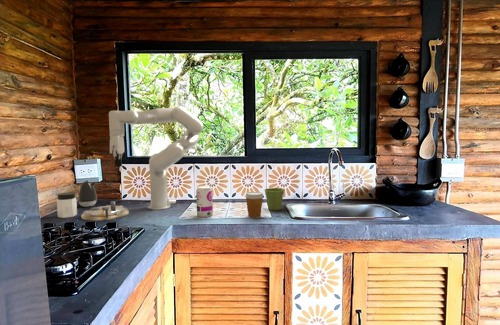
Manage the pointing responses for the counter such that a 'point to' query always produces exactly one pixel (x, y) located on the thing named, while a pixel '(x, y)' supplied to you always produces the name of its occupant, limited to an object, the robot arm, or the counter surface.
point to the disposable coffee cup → (254, 203)
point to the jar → (66, 205)
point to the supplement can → (204, 201)
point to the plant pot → (274, 198)
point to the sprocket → (101, 210)
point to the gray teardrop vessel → (87, 194)
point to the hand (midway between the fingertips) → (118, 166)
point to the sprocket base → (93, 218)
